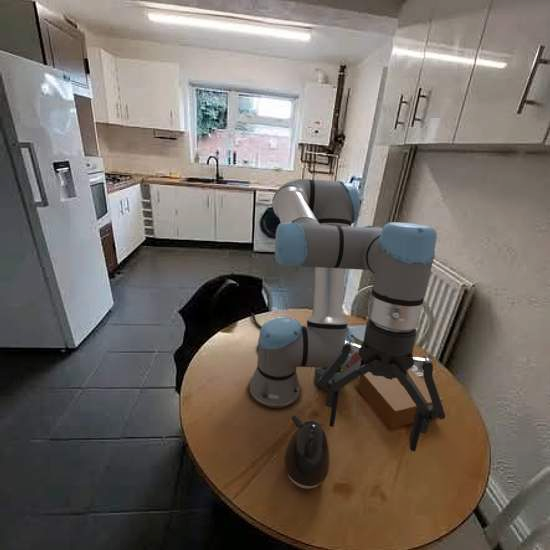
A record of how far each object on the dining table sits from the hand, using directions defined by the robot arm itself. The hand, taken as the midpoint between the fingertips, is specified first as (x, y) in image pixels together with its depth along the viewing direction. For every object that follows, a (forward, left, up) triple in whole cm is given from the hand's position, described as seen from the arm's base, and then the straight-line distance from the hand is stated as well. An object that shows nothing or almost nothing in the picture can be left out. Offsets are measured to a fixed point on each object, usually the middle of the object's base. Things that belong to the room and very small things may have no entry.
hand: (370, 432), depth 55 cm
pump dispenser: (-11, -5, -24) cm, 27 cm away
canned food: (-43, +32, -24) cm, 58 cm away
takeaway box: (-24, +31, -24) cm, 46 cm away
